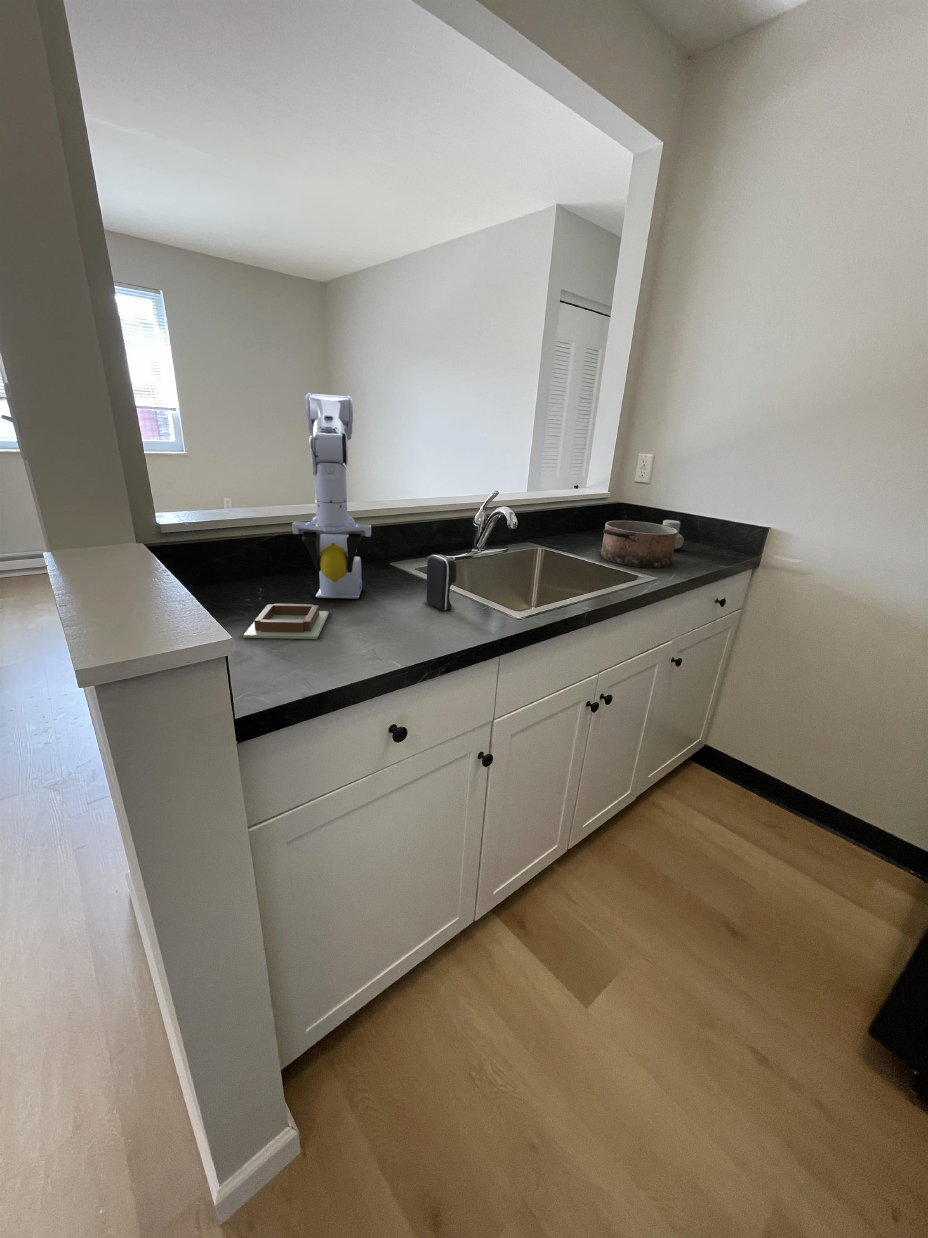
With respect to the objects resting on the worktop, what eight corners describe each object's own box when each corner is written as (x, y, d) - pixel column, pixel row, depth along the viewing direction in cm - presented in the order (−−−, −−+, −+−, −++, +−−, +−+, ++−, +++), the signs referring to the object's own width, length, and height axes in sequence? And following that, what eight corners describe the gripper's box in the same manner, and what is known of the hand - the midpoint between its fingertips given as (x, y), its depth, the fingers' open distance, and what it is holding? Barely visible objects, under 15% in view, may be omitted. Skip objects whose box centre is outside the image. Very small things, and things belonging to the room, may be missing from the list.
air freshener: (663, 544, 190) (669, 518, 186) (684, 549, 184) (690, 522, 181) (648, 547, 183) (653, 520, 180) (669, 552, 178) (675, 524, 174)
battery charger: (456, 609, 110) (459, 558, 105) (442, 612, 107) (445, 560, 103) (438, 600, 115) (440, 551, 111) (425, 602, 112) (426, 553, 108)
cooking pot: (635, 548, 181) (641, 518, 177) (691, 562, 164) (698, 530, 160) (578, 555, 164) (583, 523, 161) (634, 572, 148) (640, 537, 144)
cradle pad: (328, 613, 103) (328, 602, 102) (317, 639, 91) (316, 626, 90) (264, 612, 101) (262, 600, 100) (243, 638, 89) (241, 624, 88)
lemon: (323, 578, 101) (321, 539, 98) (350, 578, 101) (349, 540, 99) (318, 586, 96) (316, 545, 93) (347, 587, 96) (346, 546, 93)
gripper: (286, 502, 88) (291, 575, 93) (368, 505, 90) (369, 577, 95) (295, 496, 95) (299, 565, 100) (371, 500, 96) (372, 567, 101)
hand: (334, 570), depth 98 cm, fingers closed on lemon, 5 cm apart
